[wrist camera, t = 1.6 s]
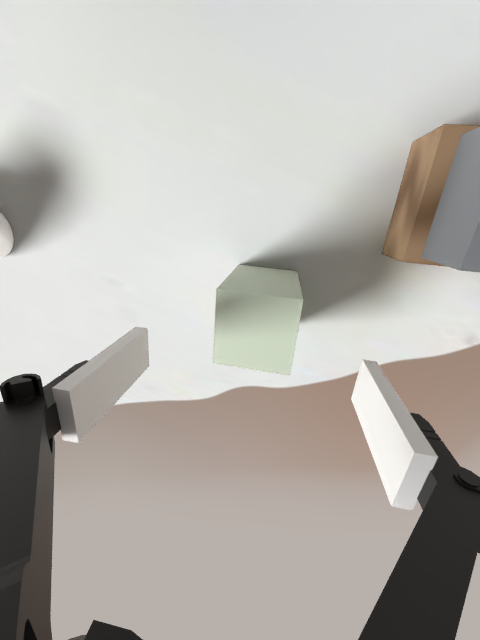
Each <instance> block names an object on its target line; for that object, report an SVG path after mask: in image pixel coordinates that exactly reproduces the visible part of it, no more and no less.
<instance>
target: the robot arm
mask: <svg viewBox="0 0 480 640" xmlns="http://www.w3.org/2000/svg"><path fill="white" fill-rule="evenodd" d="M148 367H149V353H148V331H147V328H141V327H135V328H134V329H132V330H131V331H129V332H128V333H127V334H125V335H124V336H123V337H121V338H120V339H118V340H117V341H116V342H114V343H113V344H112V345H110V346H109V347H108V348H106V349H105V350H103V351H102V352H101V353H99V354H98V355H97V356H95V357H94V358H92V359H91V360H90V361H83V362H81V363H78V364H76V365H74V366H73V367H71V368H70V369H69V370H68V371H66V372H64V373H63V374H61V376H59V377H57V378H56V379H54V380H53V381H51V382H50V383H49V384H47V385H46V386H44V387H43V386H42V382H41V378H40V376H39V375H37V374H22V375H18V376H15V377H12V378H10V379H7V380H6V381H5V382H3V383H2V384H1V385H0V391H1V394H2V398H3V401H4V402H0V640H52V633H51V622H50V606H51V605H50V604H51V570H52V533H53V528H52V527H53V493H54V456H55V440H54V435H55V434H56V433H57V432H58V431H59V430H61V433H62V438H63V440H67V441H71V442H76V443H79V442H80V441H81V440H82V439H83V438H84V437H85V435H86V434H87V433H88V432H89V431H90V430H91V429H92V428H93V427H94V425H96V424H97V422H98V421H99V420H100V419H101V418H102V417H103V416H104V415H105V414H106V413H107V412H108V410H109V409H110V408H111V407H112V406H113V405H114V404H115V403H116V402H117V401H118V400H119V398H120V397H121V396H122V395H123V394H124V393H125V392H126V391H127V390H128V389H129V388H130V386H131V385H132V384H133V383H134V382H135V381H136V380H137V379H138V378H139V377H140V376H141V374H142V373H143V372H144V371H145V370H146V369H147V368H148ZM351 399H352V402H353V405H354V407H355V410H356V413H357V415H358V418H359V421H360V423H361V426H362V429H363V432H364V434H365V437H366V440H367V442H368V445H369V448H370V450H371V453H372V456H373V458H374V461H375V464H376V466H377V469H378V472H379V474H380V477H381V480H382V482H383V485H384V488H385V490H386V493H387V496H388V498H389V501H390V504H391V506H393V507H398V508H403V509H408V510H413V508H414V506H415V504H416V502H417V500H418V501H419V503H420V505H421V507H422V509H423V512H422V514H421V516H420V518H419V520H418V522H417V524H416V526H415V528H414V530H413V532H412V534H411V536H410V538H409V540H408V542H407V544H406V546H405V547H404V550H403V552H402V553H401V555H400V558H399V559H398V562H397V564H396V565H395V568H394V569H393V572H392V573H391V575H390V577H389V580H388V581H387V583H386V586H385V587H384V589H383V591H382V593H381V596H380V597H379V599H378V601H377V603H376V605H375V607H374V609H373V611H372V613H371V615H370V617H369V619H368V621H367V623H366V625H365V627H364V629H363V631H362V633H361V635H360V637H359V639H358V640H455V637H456V633H457V629H458V625H459V621H460V617H461V614H462V610H463V606H464V602H465V598H466V594H467V590H468V586H469V583H470V579H471V575H472V571H473V567H474V563H475V560H476V556H477V552H478V553H480V477H478V476H477V475H475V474H474V473H473V472H471V471H469V470H467V469H465V468H463V467H460V466H459V464H458V463H457V461H456V460H455V459H454V458H453V456H452V454H451V453H450V451H449V450H448V449H447V447H446V446H445V445H444V443H443V442H442V441H441V439H440V437H439V436H438V435H437V434H436V433H435V430H434V429H433V428H432V426H431V425H430V424H429V422H427V421H426V420H425V419H424V418H423V417H421V416H420V415H419V414H415V413H409V411H408V410H407V409H406V407H405V405H404V404H403V402H402V400H401V399H400V397H399V396H398V394H397V393H396V391H395V390H394V388H393V387H392V385H391V384H390V382H389V381H388V379H387V377H386V376H385V374H384V373H383V371H382V370H381V368H380V366H379V365H378V363H377V362H375V361H369V360H362V363H361V367H360V370H359V374H358V377H357V381H356V384H355V388H354V391H353V395H352V398H351ZM69 640H142V639H141V638H140V637H139V636H137V635H136V634H135V633H134V632H132V631H131V630H128V629H124V628H121V627H117V626H113V625H110V624H106V623H103V622H99V621H96V620H93V622H92V625H91V627H90V629H89V631H88V633H87V635H81V636H78V637H75V638H71V639H69Z"/></svg>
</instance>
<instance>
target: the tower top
mask: <svg viewBox="0 0 480 640" xmlns="http://www.w3.org/2000/svg"><path fill="white" fill-rule="evenodd" d="M421 258H423V259H426V260H429V261H432V262H436V263H439V264H442V265H445V266H448V267H451V268H454V269H457V270H462V271H472V272H480V127H478V128H475V129H473V130H471V131H469V132H467V133H464V134H462V135H461V137H460V140H459V143H458V146H457V149H456V152H455V155H454V158H453V161H452V164H451V167H450V171H449V174H448V177H447V180H446V183H445V186H444V189H443V192H442V195H441V198H440V201H439V204H438V207H437V210H436V213H435V216H434V219H433V222H432V225H431V228H430V231H429V234H428V237H427V240H426V243H425V246H424V250H423V253H422V256H421Z"/></svg>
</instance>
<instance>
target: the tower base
mask: <svg viewBox="0 0 480 640" xmlns="http://www.w3.org/2000/svg"><path fill="white" fill-rule="evenodd" d="M478 127H480V126H477V125H454V124H444V125H442V126H440V127H439V128H437V129H435V130H433V131H432V132H430V133H428V134H426V135H425V136H423V137H421V138H419V139H417V140H416V141H414V142H412V146H411V150H410V153H409V157H408V161H407V164H406V168H405V171H404V175H403V179H402V182H401V186H400V190H399V193H398V197H397V201H396V204H395V208H394V212H393V215H392V219H391V222H390V226H389V230H388V233H387V237H386V241H385V244H384V248H383V252H382V254H384V255H386V256H389V257H391V258H394V259H396V260H399V261H401V262H408V263H418V264H428V265H438V266H445V265H442V264H439V263H436V262H432V261H429V260H426V259H423V258H421V256H422V253H423V250H424V246H425V243H426V240H427V237H428V234H429V231H430V228H431V225H432V222H433V219H434V216H435V213H436V210H437V207H438V204H439V201H440V198H441V195H442V192H443V189H444V186H445V183H446V180H447V177H448V174H449V171H450V167H451V164H452V161H453V158H454V155H455V152H456V149H457V146H458V143H459V140H460V137H461V135H462V134H464V133H467V132H469V131H471V130H473V129H475V128H478Z"/></svg>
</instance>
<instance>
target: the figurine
mask: <svg viewBox="0 0 480 640" xmlns="http://www.w3.org/2000/svg"><path fill="white" fill-rule="evenodd" d="M13 243H14V238H13V232H12V229H11V227H10V225H9V223H8V221H7V220H6V218H5V217H4V216H3V214H2V213H1V212H0V258H2V257H4V256H6V255H8V254H9V253H10V251H11V250H12V248H13Z"/></svg>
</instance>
